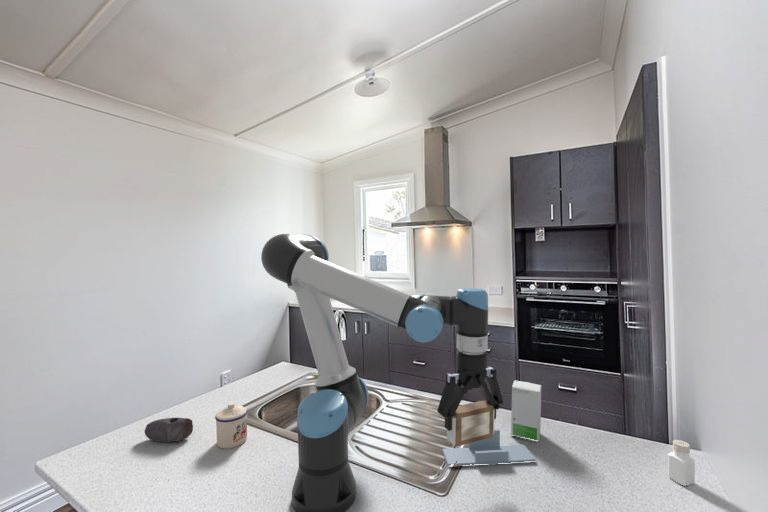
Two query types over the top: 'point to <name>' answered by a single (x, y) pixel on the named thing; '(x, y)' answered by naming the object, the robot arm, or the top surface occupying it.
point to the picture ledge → (488, 452)
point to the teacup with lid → (231, 426)
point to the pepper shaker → (681, 463)
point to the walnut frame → (473, 422)
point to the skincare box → (526, 410)
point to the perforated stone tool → (169, 429)
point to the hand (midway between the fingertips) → (470, 436)
